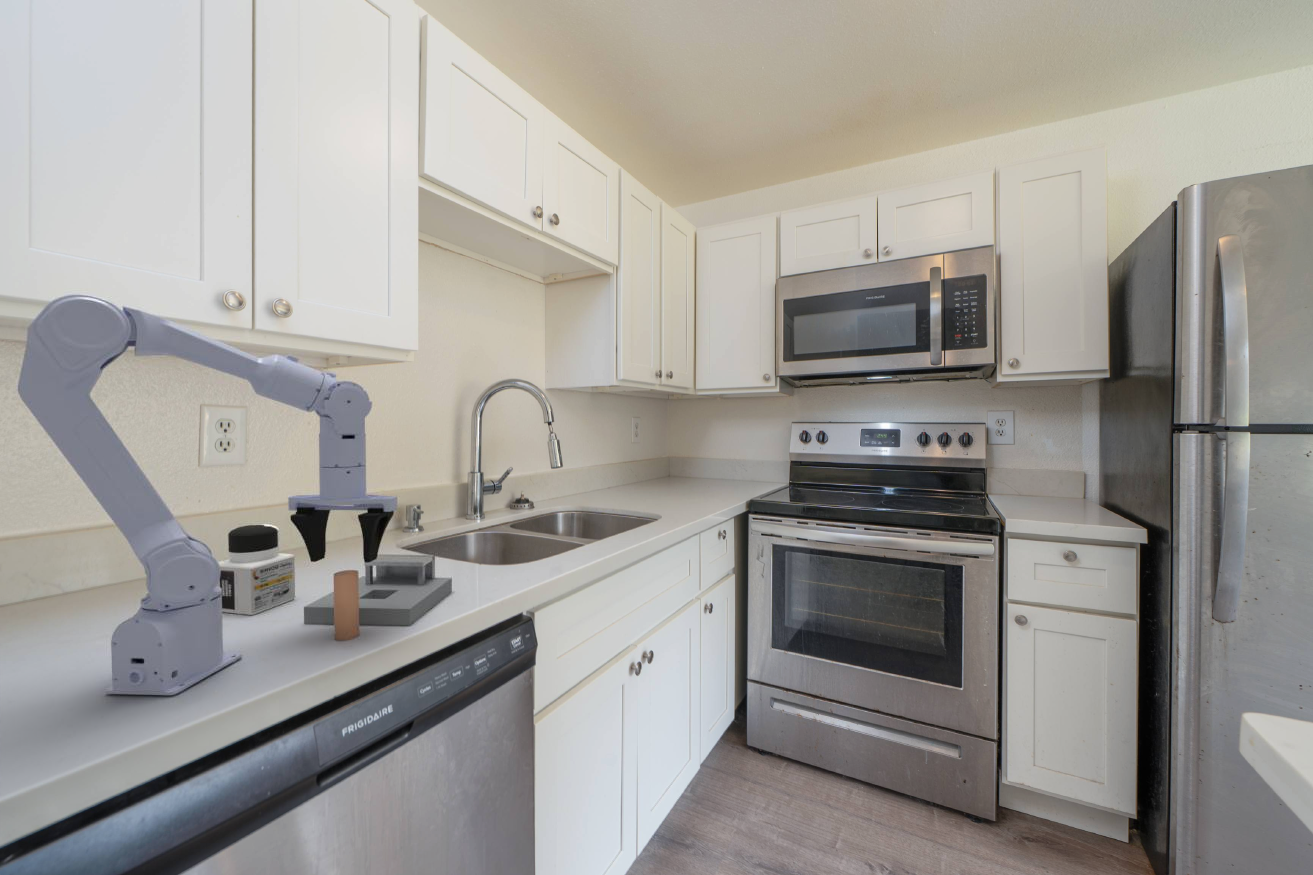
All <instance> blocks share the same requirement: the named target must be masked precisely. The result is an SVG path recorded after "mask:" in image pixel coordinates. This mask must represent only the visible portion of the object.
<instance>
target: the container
mask: <svg viewBox="0 0 1313 875" xmlns="http://www.w3.org/2000/svg"><path fill="white" fill-rule="evenodd" d="M227 535H228V537H227V538H228V539H227V540H228V542H227V544H228V557H229V559H225V560H221V561H217V562H218V563H219V566H220V570H221V575H220V579H219V582H218V584H217V586H218V587H220V588H221V589H222V613H226V614H227V613H229V614H235V615H236V614H238V615H246V616H255V615H257V614H259V613H260V614H261V613H262V612H264V611H265V612H266V611H268V610H270V609H273V608H275V607H278V606H280V605H282V604H286V603H288V602H291V601H294V600H295V598H296V578H295V576H296V574H295V573H296V572H295V569H296V567H295V555H294V554H292V553H282V552H281V553H280V552H279V551H280V528H279V527H277V525H273V524H268V523H264V524H261V523H258V524H249V525H243V526H238V527H236V528H234V529H232V530H230V531H229V532H228V534H227Z"/></svg>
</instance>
